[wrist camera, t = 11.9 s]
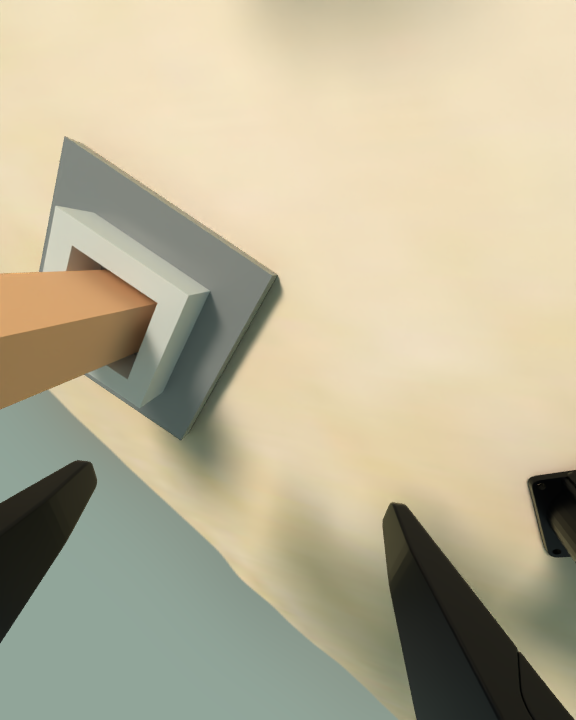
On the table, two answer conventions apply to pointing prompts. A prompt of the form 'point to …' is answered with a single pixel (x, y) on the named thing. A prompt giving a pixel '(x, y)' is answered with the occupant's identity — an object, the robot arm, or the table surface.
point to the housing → (155, 283)
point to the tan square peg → (65, 327)
